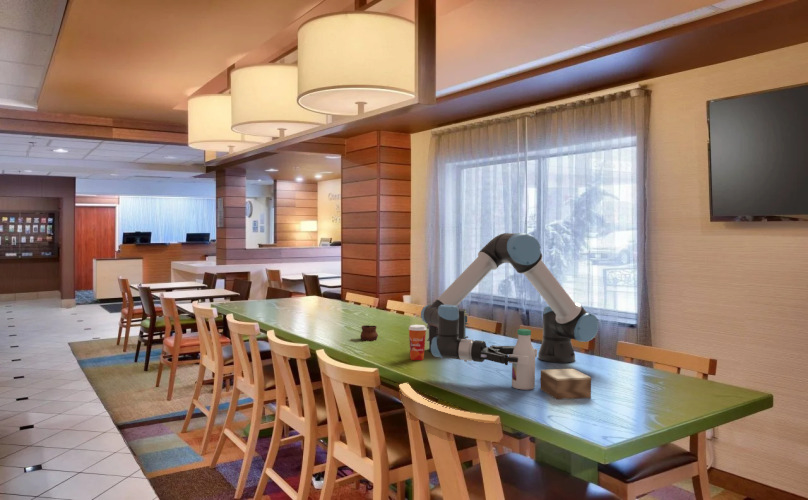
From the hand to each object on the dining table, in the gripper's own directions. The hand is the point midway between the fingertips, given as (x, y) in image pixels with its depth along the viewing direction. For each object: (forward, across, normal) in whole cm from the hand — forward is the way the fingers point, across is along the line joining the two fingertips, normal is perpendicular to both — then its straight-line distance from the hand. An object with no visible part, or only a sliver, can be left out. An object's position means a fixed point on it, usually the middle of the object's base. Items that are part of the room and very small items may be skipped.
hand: (532, 356), depth 193 cm
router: (-48, -44, -11) cm, 66 cm away
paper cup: (-53, -23, -11) cm, 59 cm away
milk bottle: (-3, 0, -11) cm, 12 cm away
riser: (+11, +1, -11) cm, 16 cm away
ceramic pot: (-92, -52, -12) cm, 107 cm away
